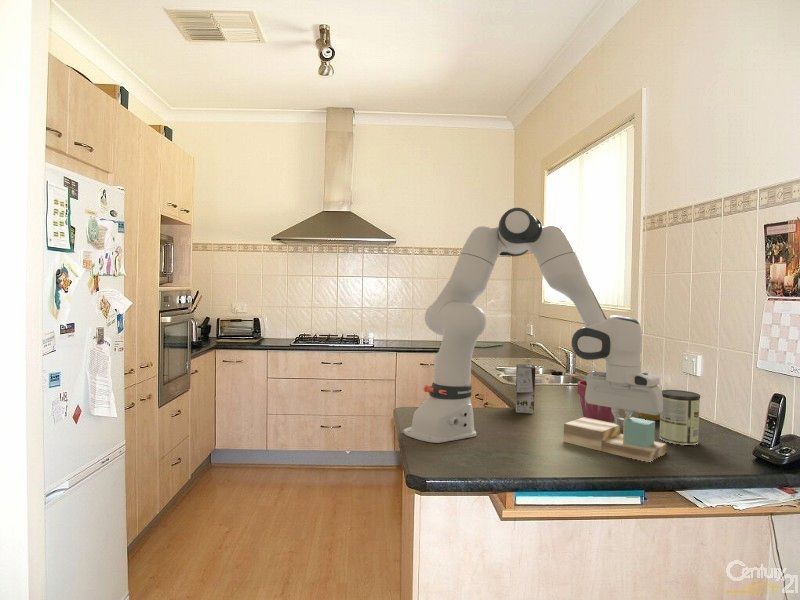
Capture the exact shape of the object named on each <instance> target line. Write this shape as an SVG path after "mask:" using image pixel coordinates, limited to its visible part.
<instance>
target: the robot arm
mask: <svg viewBox="0 0 800 600" xmlns="http://www.w3.org/2000/svg"><path fill="white" fill-rule="evenodd" d="M573 246H574V245H572V243H571V241H570V239H569V238H568V236H567V234H566V233H565V232H564V231H563V229H562V228H561V227H560V226H559V225H555V224H553V225H552V224H551V225H546V226H545V225H544V226H543V222H542V221H541V220H539V219H538V217H536V216H534V215H533V214H532V213H531V212H529V210H527V209H525V208H522V207H512V208H510V209H508V210H507V211H505V213H503V214H502V216H501V218H500V220H499V222H498V226H496V227H489V226H477V227H475V228H474V229H473V230H472V231H471V233H470V234H469V236H468V237H467V239H466V240H465V243H464V245H463V246H462V248H461V251H460V253H459V255H458V258H457V260H456V263H455V265H454V268H453V271H452V273H451V276H450V277H449V279H448V281H447V283H446V284H445V286H444V287H443V289H442V291H441V292H440V294H439V295H438V297H437V298H436V300H435V301H433V303H432V304H430V305H429V307H427V309H426V310H425V313H424V321H425V324H426V326H427V328H428V329H429V330H430V331H431V332H433V333H435V334H437V335H439V336H442V339H441V343H440V347H439V350H438V351H437V353H436V354H435V355H434V362H433V363H434V365H433V367H434V368H433V382H432V384H431V385H424V387H423V392H425V393H428V394H429V395H428V397H427V398H426V399H425V400H424V402H422V403H421V405H420V406H418V408H417V409H416V410H415V411H414V413H413V416H412V420H411V421H412V422H411V426H409V427H406V428H404V429H403V432H402V433H403V434H404V435H406V436H408V437H409V438H413V439H415V440H419V441H421V442H428V443H432V444H433V443H437V444H441V443H446V442H450V441H456V440H462V439H467V438H473V437H477V431H476V430H475V423H474V422H475V421H474V417H475V416H474V407H473V405H472V400H471V397H472V392H473V387H472V386H473V385H472V384H471V377H472V375H471V374H472V360H473V359H472V358H473V353H474V349H475V347H476V343H477V342H478V341H477V340H478V339H479V337H480V336H481V335H482V334H483V333H484V331H485V329H486V326H487V317H486V314H485V313H484V311H483V310H482V309H481V308H480V307H478V306H477V305H475V304H474V303H475V301H476V300H477V298H478V297H479V296H480V295H482V294H483V293H484V292H485V290H486V288H487V287H488V284H489V283H488V282H489V280H490V278H491V276H492V273H493V270H494V269H495V268H494V267H495V265H496V262H497V260H498V257H499V256H510V257H520V256H523V255H524V254H526V253H527V252H531V254H533V256H534V257H535V259H536V261H537V263H538V267H539V269H540V272H541V274H542V277H543V278H544V280H545V281H546V282H547V285H549V287H550V288H551V289H553V290H555V291H557V292H559V293H560V294H562V295H564V296H566V297H567V298H568V299H570V301H572V302H573V304H574V306H575V307H576V310H577V312H578V313H579V316H580V317H581V320H582V321H583V324H584V325H585V326H583V327H581V328H579V329H577V330H576V331H575V332H574V333H573V334H572V337H571V348H572V350H573V352H574V353H575V355H576V356H577V357H579V358H580V359H582V360H587V361H594V360H602V359H603V360H605V361H606V363H605V364H606V365H605V372H603V371H602V372H601V371H597V370H592V371H591V372H589V373H587V374H586V378H585V380H586V383H587V386H586V392H585V400H586V402H587V403H589V404H595V405H600V406H606V407H611V412H612V414H613V416H614V417H615V419H614V423H615V424H616V425H620V427H621V426H622V427H623V424H624V420H626V419H629V418H631V417H633V416H632V415H633V414H634V412H635V413H638V412H639V413H645V414H650V415H658V414H660V413H661V412H662V411H663V395H662V389H661V387H660V386H659V385H660V382H661V379H660V377H659V376H657V375H656V374H653V373H650V372H648V371H646V370H644V369H642V363H641V362H642V361H641V353H642V350H643V340H642V338H643V337H642V328H641V327H642V326H641V324H640V322H639V321H638V320H637V319H635V318H633V317H630V316H625V315H617V314H616V315H610V317H608V318H607V316H606V315H605V312H604V310H603V309H602V307H601V305H600V303H599V301H598V299H597V297H596V295H595V292H594V291H593V289H592V288H591V286H590V284H589V281H588V279H587V276H586V275H585V272H584V269H583V268H582V265H581V263H580V260H579V257H578V255H577V253H576V250H575V249H574V247H573ZM620 410H622V411H624V414H625V417H624V418H623V417H621V416H620V413H619V412H620Z"/></svg>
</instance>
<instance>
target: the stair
mask: <svg viewBox="0 0 800 600" xmlns="http://www.w3.org/2000/svg"><path fill="white" fill-rule="evenodd" d="M563 442H564V443H568V444H571V445H575V446H578V447H584V448H587V449H591V450H596V451H600V452H604V453H608V454H611V455H616V456H619V457H623V458H628V459H631V458H632V459H631V460H635V459H637V461H639V460H641V461H640V462H643V461H646V462H645V463H647V462H650V463H652V462H654V461H655V460H657V459H659V458H661V457H662V456H664V455H666V454H667V444H668V443H666V442H665V443H664V442H659V441H656V440H654V444H653V445H651V446H649V447H647V448H643V447H639V446H635V445H630V444H626V443H623V433H621V425H616V424H615V422H613V423H610V422H605V421H600V420H596V419H591V418H586V417H580V418H576V419H574V420H570V421H567V422H565V423H563ZM665 453H666V454H665ZM660 456H661V457H660ZM658 457H659V458H658ZM656 458H657V459H656ZM654 459H655V460H654ZM653 460H654V461H653ZM651 461H652V462H651Z"/></svg>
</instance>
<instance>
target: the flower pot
mask: <svg viewBox="0 0 800 600" xmlns="http://www.w3.org/2000/svg"><path fill="white" fill-rule="evenodd" d="M637 414H638V416H639V417H640V419H646V420H650V421H660V414H658V415H650V414H645V413H639V412H637Z"/></svg>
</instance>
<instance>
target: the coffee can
mask: <svg viewBox="0 0 800 600" xmlns="http://www.w3.org/2000/svg"><path fill="white" fill-rule="evenodd" d="M661 391H662V395H663V411H662V412H661V413H660V419H659V437H658V438H659V439H661V441H662V440H663V441H662V442H664V441H665V443H667V442H669V443H668V444H671V443H673V444H672V445H676V444H680V445H679V446H684V445H694V446H697V445H699V443H700V442H699V435H700V434H699V429H700V404H701V403H700V402H701V401H700V399H701V394H699V393H696V392H693V391H688V390H680V389H661ZM696 444H697V445H696Z"/></svg>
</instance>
